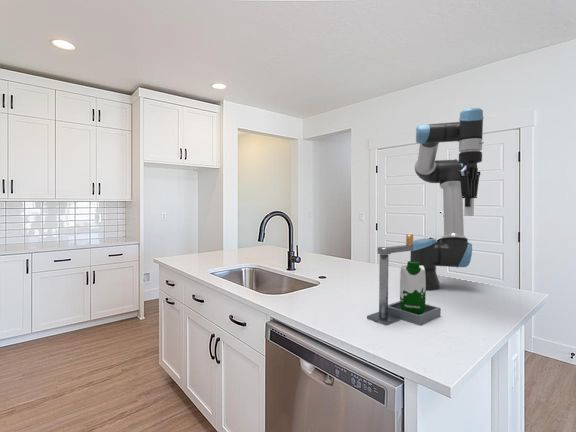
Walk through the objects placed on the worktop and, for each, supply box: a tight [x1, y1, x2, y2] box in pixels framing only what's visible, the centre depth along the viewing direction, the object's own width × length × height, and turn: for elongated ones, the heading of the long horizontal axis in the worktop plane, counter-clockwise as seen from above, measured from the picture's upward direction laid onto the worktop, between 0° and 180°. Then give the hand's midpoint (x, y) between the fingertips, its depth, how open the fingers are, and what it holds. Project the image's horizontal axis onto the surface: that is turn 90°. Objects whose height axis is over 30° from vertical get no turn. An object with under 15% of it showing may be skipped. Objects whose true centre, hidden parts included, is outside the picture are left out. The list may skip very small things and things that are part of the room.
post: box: [366, 254, 401, 326], centre depth 113 cm, size 8×8×23 cm
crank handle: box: [377, 233, 414, 255], centre depth 116 cm, size 17×4×6 cm, turn 121°
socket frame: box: [388, 300, 442, 326], centre depth 118 cm, size 14×14×3 cm
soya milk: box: [399, 261, 427, 315], centre depth 118 cm, size 9×9×20 cm
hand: (468, 215), depth 119 cm, fingers closed
